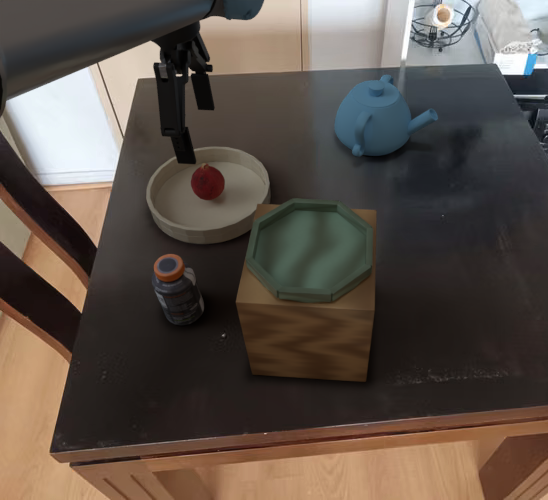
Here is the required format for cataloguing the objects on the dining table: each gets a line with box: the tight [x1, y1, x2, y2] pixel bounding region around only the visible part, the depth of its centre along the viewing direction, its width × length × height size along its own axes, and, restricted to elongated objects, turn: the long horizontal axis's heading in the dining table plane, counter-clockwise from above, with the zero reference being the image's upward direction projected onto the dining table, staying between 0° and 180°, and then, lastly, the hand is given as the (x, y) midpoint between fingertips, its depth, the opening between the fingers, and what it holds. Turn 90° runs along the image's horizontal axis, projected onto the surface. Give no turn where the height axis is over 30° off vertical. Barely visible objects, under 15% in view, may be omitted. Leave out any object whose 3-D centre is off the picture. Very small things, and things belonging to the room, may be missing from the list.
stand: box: [235, 197, 378, 383], centre depth 73 cm, size 16×16×20 cm
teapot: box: [333, 73, 439, 158], centre depth 104 cm, size 20×20×13 cm
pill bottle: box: [151, 253, 205, 326], centre depth 78 cm, size 6×6×11 cm
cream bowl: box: [145, 145, 272, 245], centre depth 96 cm, size 21×21×4 cm
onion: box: [191, 163, 225, 200], centre depth 94 cm, size 6×6×8 cm
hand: (197, 134), depth 87 cm, fingers open, 13 cm apart
